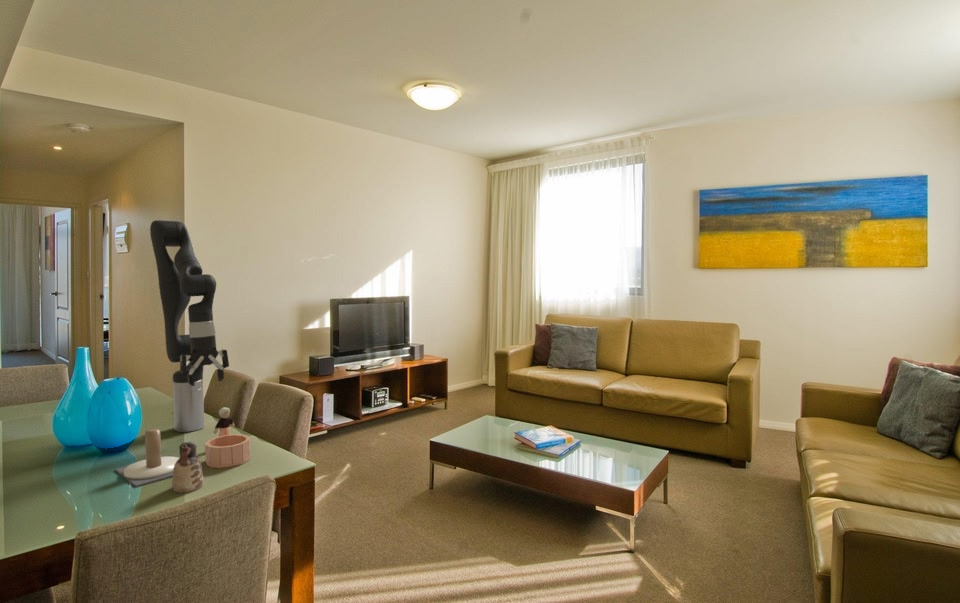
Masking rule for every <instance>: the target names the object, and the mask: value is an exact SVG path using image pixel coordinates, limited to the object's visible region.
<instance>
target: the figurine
mask: <svg viewBox="0 0 960 603" xmlns="http://www.w3.org/2000/svg"><path fill="white" fill-rule="evenodd" d="M197 447H198V446H197V445H196V444H195V443H194V442H192V441H184V442H182V443H181V444H180V445H179V447H178V448H179V458H180V459H178V460H177V461H176V463H175V465H174V468H173V477H172V481H171V485H172V487H171V488H172V490H173V491H174V493H181V494H182V493H183V494H184V493H190V492H195V491H197V490H200V489H202V488H203V487H204V484H205V478H204V475H203V468H202V463H201V460H200V459H198V458H199V455H198V454H197Z"/></svg>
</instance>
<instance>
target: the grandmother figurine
mask: <svg viewBox="0 0 960 603" xmlns="http://www.w3.org/2000/svg"><path fill="white" fill-rule="evenodd" d="M230 412H231V410H230V408H229V407H224V406H223V407H221V408H220V409H219V411H218V415H219V416H220V419H219V420H218V421H217V423H216V425H215V426H214V430H213V434H214V435H216V434H217V433H218V432H219V433H218V437H219V436H223V435H224V436H225V435H231V429H230V426H231V427H232V428H234V427H235V426H236V425H235V422H234V419H233V418H231V417H230Z"/></svg>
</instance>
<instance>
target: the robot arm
mask: <svg viewBox="0 0 960 603" xmlns="http://www.w3.org/2000/svg"><path fill="white" fill-rule="evenodd" d="M187 228H188V227H187V226H186V224H185V223H183V222H182V221H178V220H175V221H174V220H162V219H161V220H158V219H157V220H153V221H152V222H151V224H150V228H149V233H150V240H151V245H152V250H153V252H154V253H153V254H154V257H155V261H156V262H155V263H156V270H157V278H158V287H159V288H158V289H159V294H160V301H161V305H162V306H161V307H162V313H163V320H164V322H163V323H164V335H165V349H166V355H167V358H168V359H169V361H170V362H171V363H179V370H176V371H175V372H174V373H173V374H172V391H173V392H172V393H173V396H172V398H173V424H174V427H173V428H174V432H178V433H187V432H195V431H199V430H201V429H203V428H204V427H205V406H204V405H205V402H204V400H205V398H204V366H207V365H208V366H211V365H213V366H215V367H216V369H217V370H216V371H217V380H218V382H223V380H224V378H225V375H224V374H225V373H224V369H226V368H229V367H230V363H229V355H228V350H226V349H220V350H217V341H216V339H217V338H216V330H215V329H216V328H215V323H214V316H213V313H214V312H213V305H214V298H215V293H216V290H217V282H216V278H215V277H214V276H213V275H211V274H208V273H207V274H203V273H204V272H203V268H202V266H201V265H200V262H199V260H198V258H197V257H196V255H195V252H194V247H193V243H192V241H191V236H190V234H189V231H188V229H187ZM167 247H170V248H171V247H172V248H174V247H180V248H179V249H178V251H177V252H176V253H175V255H174V259H172V258H171V256H170V255H169V252H168V249H167ZM192 297H202V299H201V301H199V302H196V303H193V304H192V303H191V304H190V301H191V298H192ZM186 309H187V310H188V311H187V312H188V313H187V314H188V323H189V324H188V332H189V334H179V324H180V322H181V321H180V320H181V318H182V316H183V314H184V312H185V311H186ZM218 355H219V356H220V357H221V361H222V362H221V363H222V364H221V363H220V362H219V361H218V360H217V357H218ZM187 362H189V363H188V364H187Z"/></svg>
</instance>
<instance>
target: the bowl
mask: <svg viewBox="0 0 960 603" xmlns="http://www.w3.org/2000/svg"><path fill="white" fill-rule="evenodd" d="M204 444H205V445H204V446H205V448H204V449H205V464H206V467H209V468H212V469H228V468H233V467H237V466H240V465H243V464H245V463H247V462H248V461H250V459H251V437H250V436H249V435H246V434H238V433H235V434H234V433H233V434H230V435H225V436H224V435H223V436H219V435H218V436H215V437H212V438H211V439H209V440H207V441H206V442H205V443H204Z"/></svg>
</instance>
